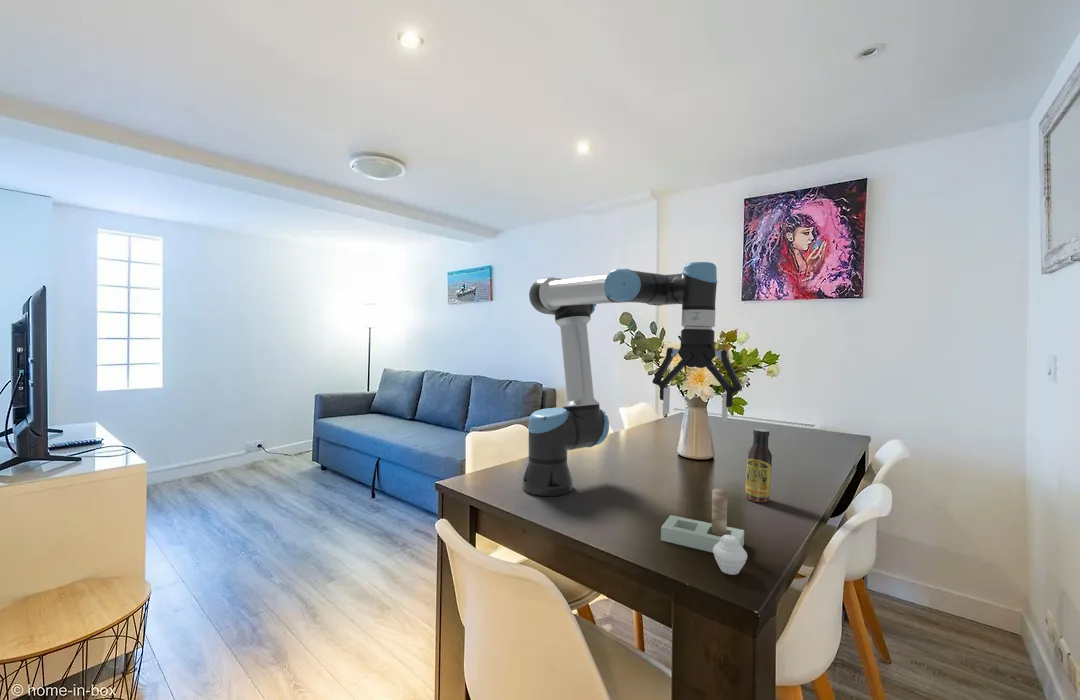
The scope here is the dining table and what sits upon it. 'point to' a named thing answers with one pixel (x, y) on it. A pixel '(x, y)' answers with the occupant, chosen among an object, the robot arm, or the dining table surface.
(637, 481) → the dining table surface
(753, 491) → the sauce bottle
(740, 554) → the muffin
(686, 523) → the hole block
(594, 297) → the robot arm
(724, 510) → the peg
